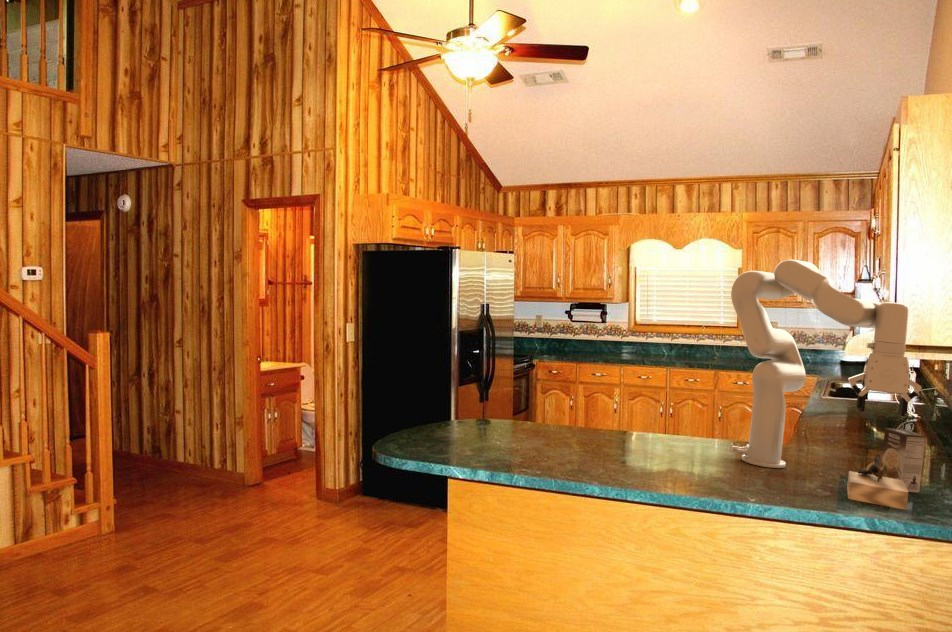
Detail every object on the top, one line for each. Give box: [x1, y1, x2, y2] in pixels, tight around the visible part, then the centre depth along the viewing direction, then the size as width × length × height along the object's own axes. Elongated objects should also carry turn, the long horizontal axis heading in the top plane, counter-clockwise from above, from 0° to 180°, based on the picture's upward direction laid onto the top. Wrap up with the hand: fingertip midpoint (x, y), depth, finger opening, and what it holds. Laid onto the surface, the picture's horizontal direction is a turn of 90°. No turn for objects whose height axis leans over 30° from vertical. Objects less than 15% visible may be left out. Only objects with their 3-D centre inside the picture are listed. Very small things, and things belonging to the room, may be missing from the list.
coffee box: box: [879, 427, 927, 493], centre depth 200 cm, size 9×6×16 cm
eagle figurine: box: [858, 453, 895, 482], centre depth 189 cm, size 8×7×9 cm
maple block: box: [846, 470, 909, 511], centre depth 187 cm, size 13×15×5 cm
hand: (880, 413), depth 188 cm, fingers open, 9 cm apart
